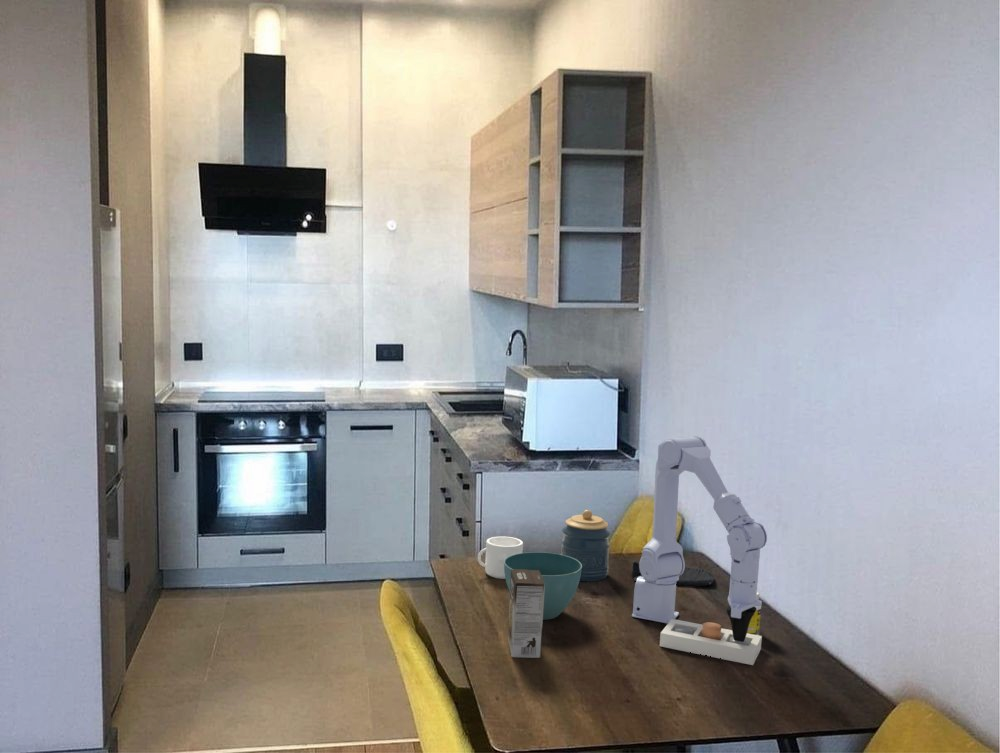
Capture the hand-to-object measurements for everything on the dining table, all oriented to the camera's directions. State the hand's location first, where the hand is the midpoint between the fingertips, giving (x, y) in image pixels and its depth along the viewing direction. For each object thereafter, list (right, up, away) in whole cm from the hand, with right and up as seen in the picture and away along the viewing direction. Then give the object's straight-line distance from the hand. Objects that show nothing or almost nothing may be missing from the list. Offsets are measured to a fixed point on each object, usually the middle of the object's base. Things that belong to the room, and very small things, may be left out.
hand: (739, 640), depth 207 cm
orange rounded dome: (-6, 0, +2) cm, 6 cm away
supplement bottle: (+5, -2, +12) cm, 13 cm away
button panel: (-6, -2, +3) cm, 7 cm away
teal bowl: (-42, +1, +19) cm, 46 cm away
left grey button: (-11, -2, +5) cm, 12 cm away
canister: (-29, +4, +50) cm, 58 cm away
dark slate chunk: (-5, +2, +51) cm, 52 cm away
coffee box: (-47, -1, -3) cm, 47 cm away
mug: (-52, +4, +46) cm, 69 cm away
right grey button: (0, -3, 0) cm, 3 cm away
